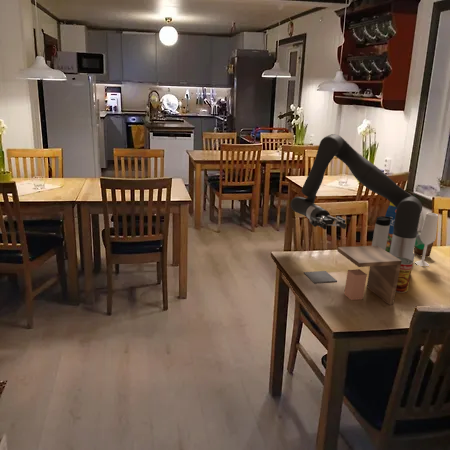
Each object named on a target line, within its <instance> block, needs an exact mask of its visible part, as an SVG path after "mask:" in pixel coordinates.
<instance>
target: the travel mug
mask: <svg viewBox="0 0 450 450" xmlns="http://www.w3.org/2000/svg"><path fill="white" fill-rule="evenodd" d="M391 219H392V218H391V217H386V216H385V215H384V216H383V215H381V216H377V217H376V218H375V224H374V231H373V235H372V237H373V238H372V242H371V246H378V247H380V248H382V249H383V250H386V244H387V239H388V233H389V227H390V221H391Z"/></svg>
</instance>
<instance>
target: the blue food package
mask: <svg viewBox="0 0 450 450" xmlns="http://www.w3.org/2000/svg"><path fill="white" fill-rule="evenodd" d="M396 210H397V208H396V207H395V206H394V205H393V204H392V203H391V202H390V201H389V205H388V208H387V209H386V212H385V215H384V216H386V217H391V218H392V219H391V221H390V227H389V233H388V239H387V244H386V250H385V251H387V252H388V253H390V248H391V242H392V237H393V231H394V222H395V215H396Z"/></svg>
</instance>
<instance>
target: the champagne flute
mask: <svg viewBox="0 0 450 450" xmlns="http://www.w3.org/2000/svg"><path fill="white" fill-rule="evenodd" d="M438 219H439V214H437V213H435V212H426V214H425V217H424V220H423V224H422V227H421V229H420V230H421V233H420V239H421V241H422V242H423V243H424V244H425V245H424V250H423V255H422V256H421V259H420V260H417V261H415V263H416V264H417V265H416V264H415V263H414V264H415V265H416V266H418V265H420V266H419V267H421V266H429V265H430V264H429V263H428V262H427V261H426V260H425V259H426V257H425V255H426V250H427V245H428V244H431V243H432V242H433V243H435V241H436V240H437V239H436V238H437V230H438V229H437V228H438ZM429 267H430V266H429Z"/></svg>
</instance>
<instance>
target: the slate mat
mask: <svg viewBox="0 0 450 450" xmlns="http://www.w3.org/2000/svg"><path fill="white" fill-rule="evenodd" d="M303 274H304V275H305V277H307V278H308V279H309V280H310V281H312V283H313V284H324V283H337V281H338V280H337V279H336V278H335V277H334V276H332V275H331V274H330V273H329V272H327V270H317V271H304V272H303Z"/></svg>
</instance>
